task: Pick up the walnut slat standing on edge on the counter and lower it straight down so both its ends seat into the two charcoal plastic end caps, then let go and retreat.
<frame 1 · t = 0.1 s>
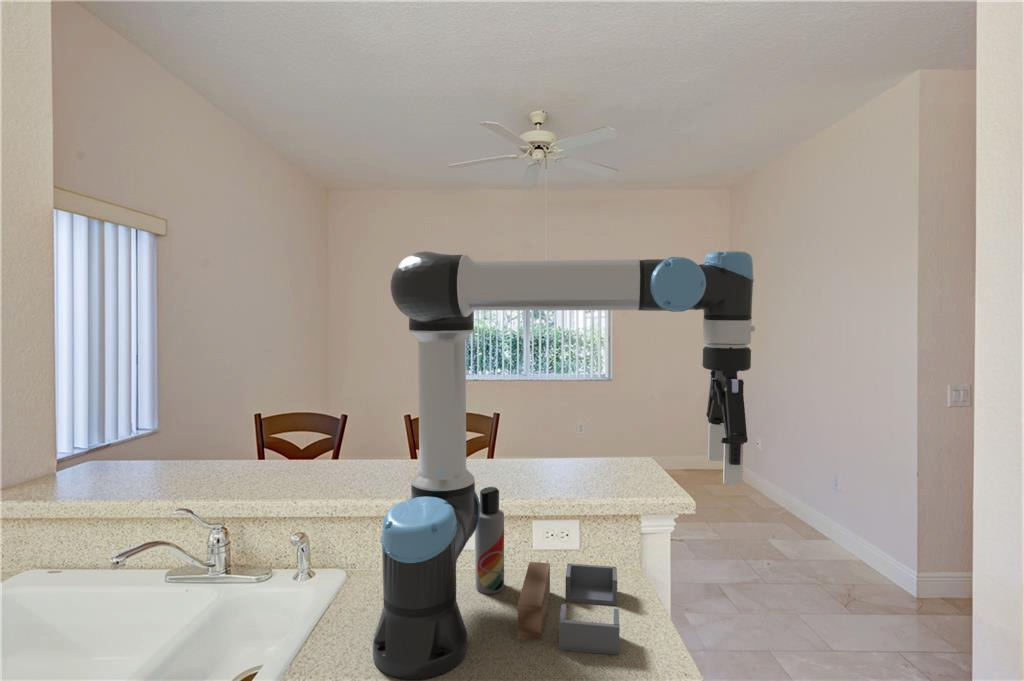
hand: (723, 471, 96), 28 cm above the countertop, fingers open, 13 cm apart
lotion bottle: (489, 588, 113), on the countertop
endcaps: (590, 617, 102), on the countertop
slat: (534, 614, 103), on the countertop
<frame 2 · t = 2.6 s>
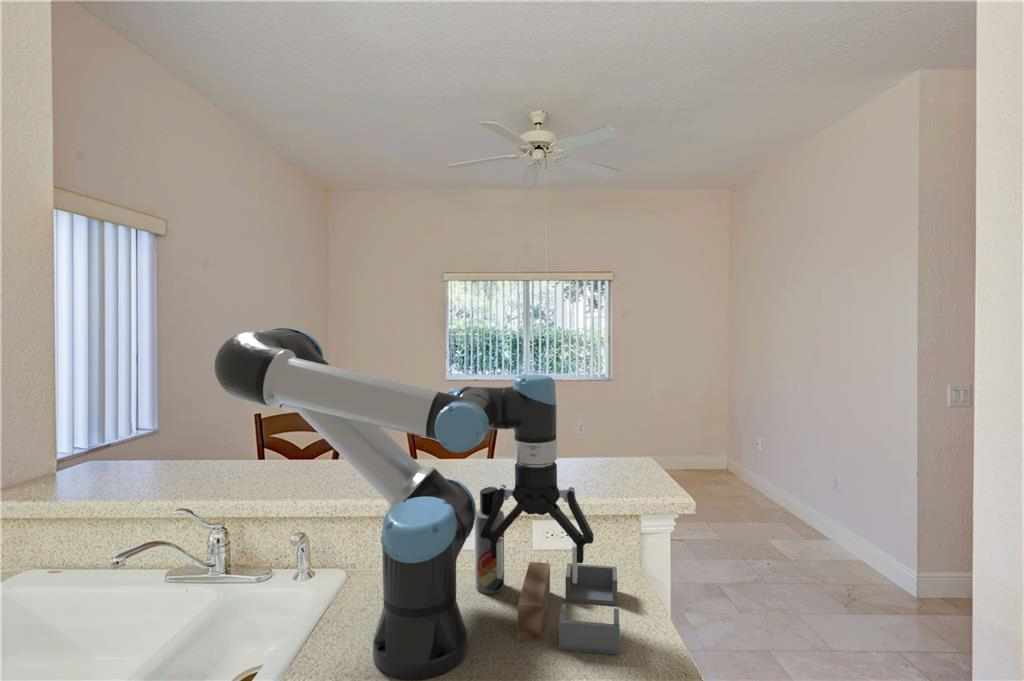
hand: (537, 577, 103), 7 cm above the countertop, fingers open, 13 cm apart
nothing on the countertop moved.
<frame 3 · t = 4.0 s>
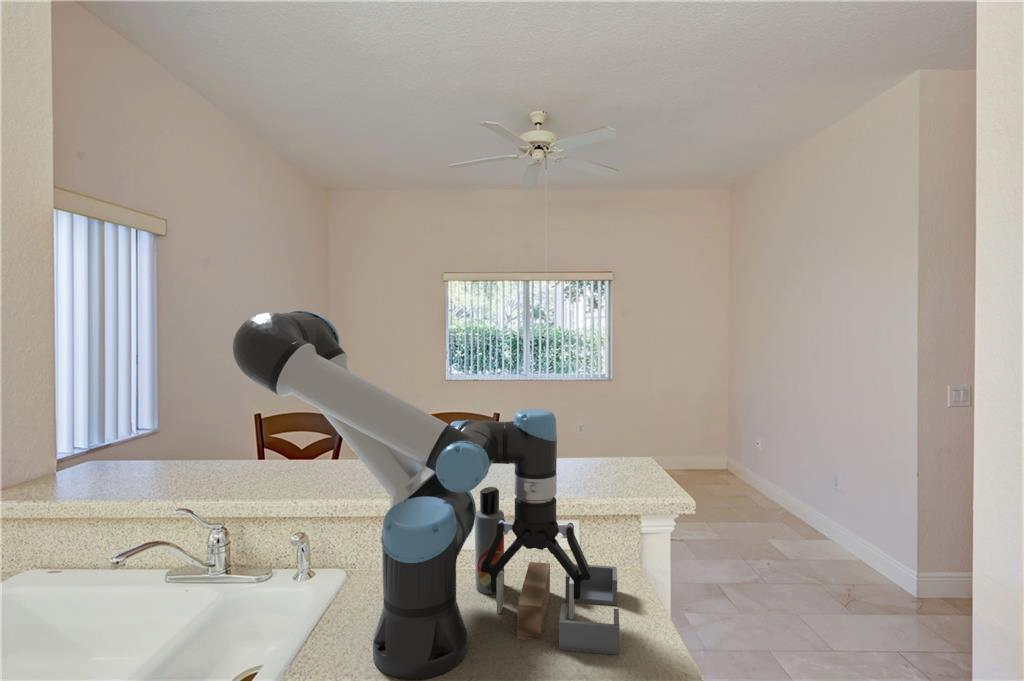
hand: (535, 612, 103), 0 cm above the countertop, fingers open, 12 cm apart
nothing on the countertop moved.
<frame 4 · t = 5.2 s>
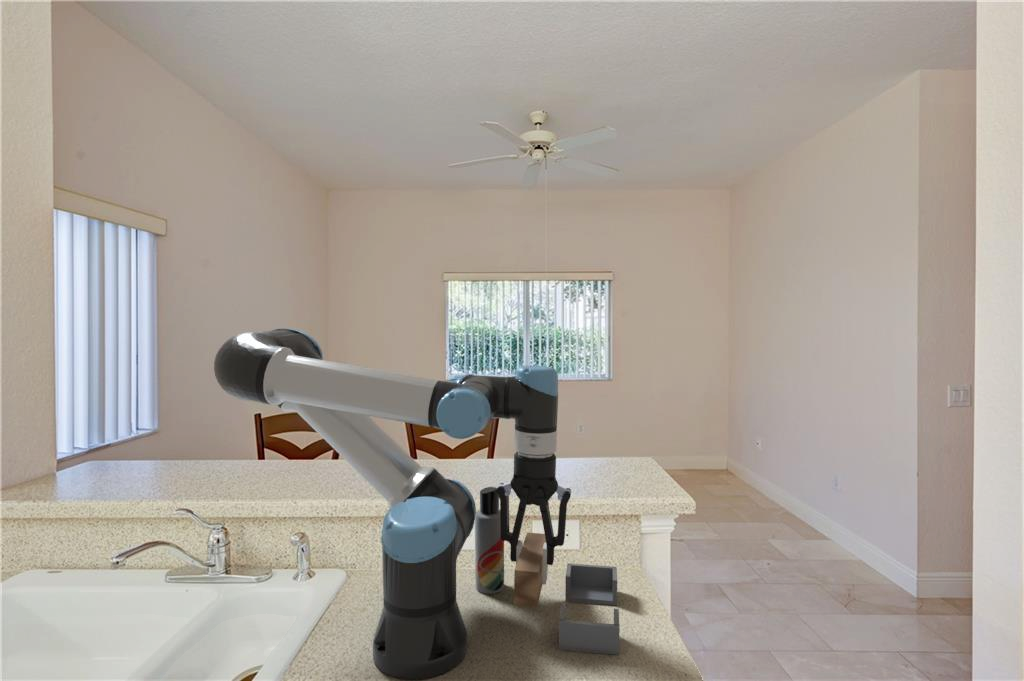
hand: (531, 579, 103), 6 cm above the countertop, fingers closed on slat, 4 cm apart
slat: (531, 582, 103), point 6 cm above the countertop, touching gripper
everything else where it was.
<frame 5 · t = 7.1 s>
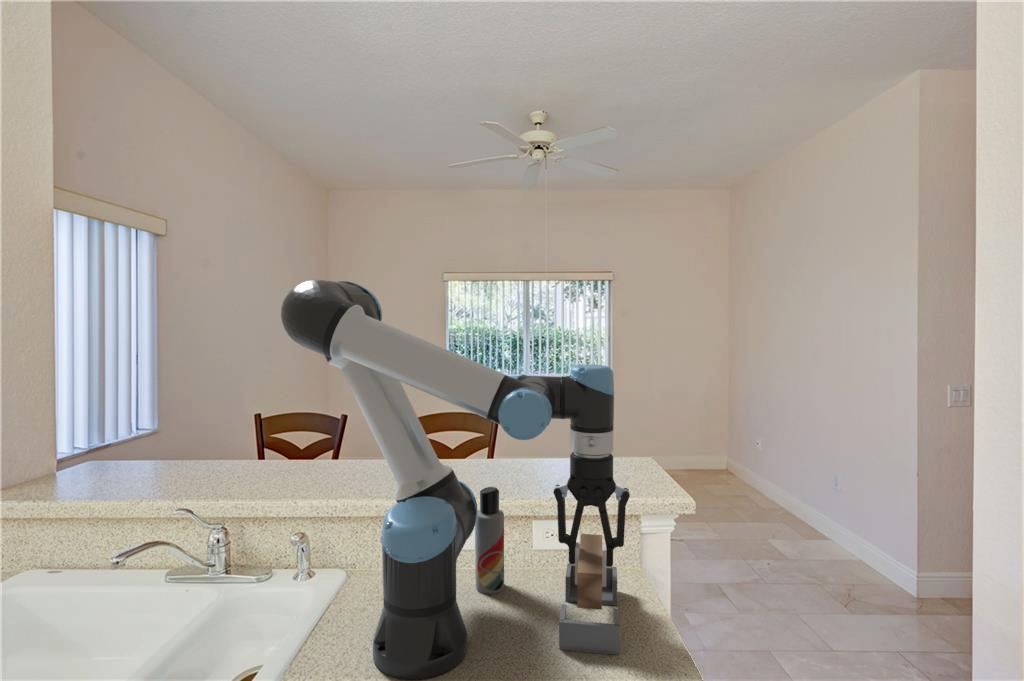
hand: (590, 581, 101), 7 cm above the countertop, fingers closed on slat, 4 cm apart
slat: (590, 585, 101), point 6 cm above the countertop, touching gripper
everything else where it was.
when the fingers open (2 cm above the countertop, at t = 9.1 s): slat stays where it is, resting on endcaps.
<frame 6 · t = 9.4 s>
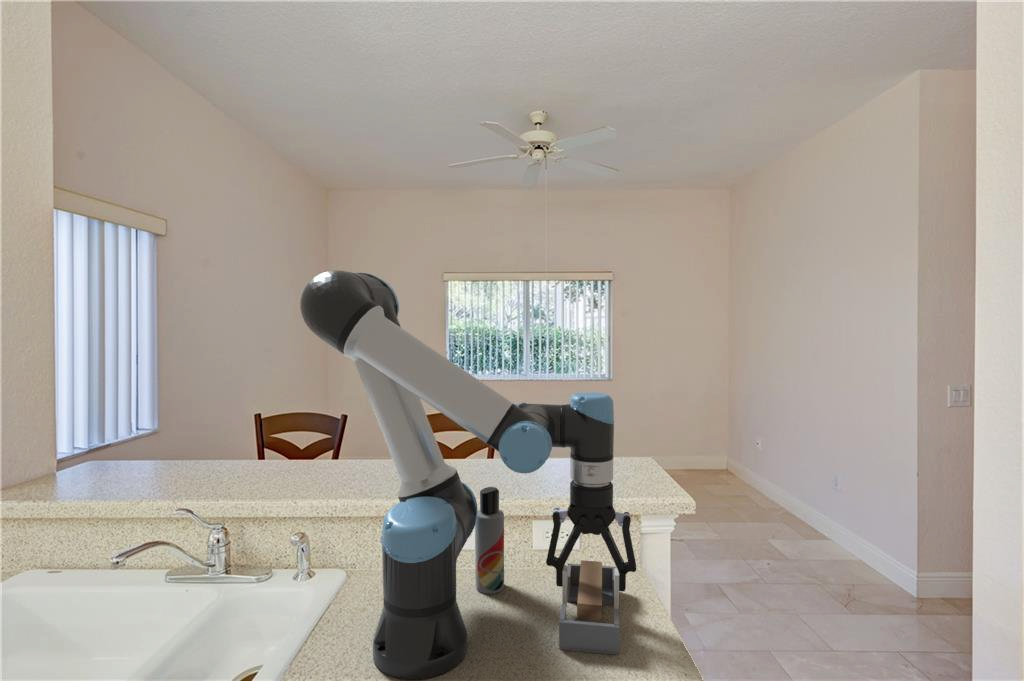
hand: (590, 605, 102), 2 cm above the countertop, fingers open, 8 cm apart
slat: (590, 613, 102), point 1 cm above the countertop, touching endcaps
everything else where it was.
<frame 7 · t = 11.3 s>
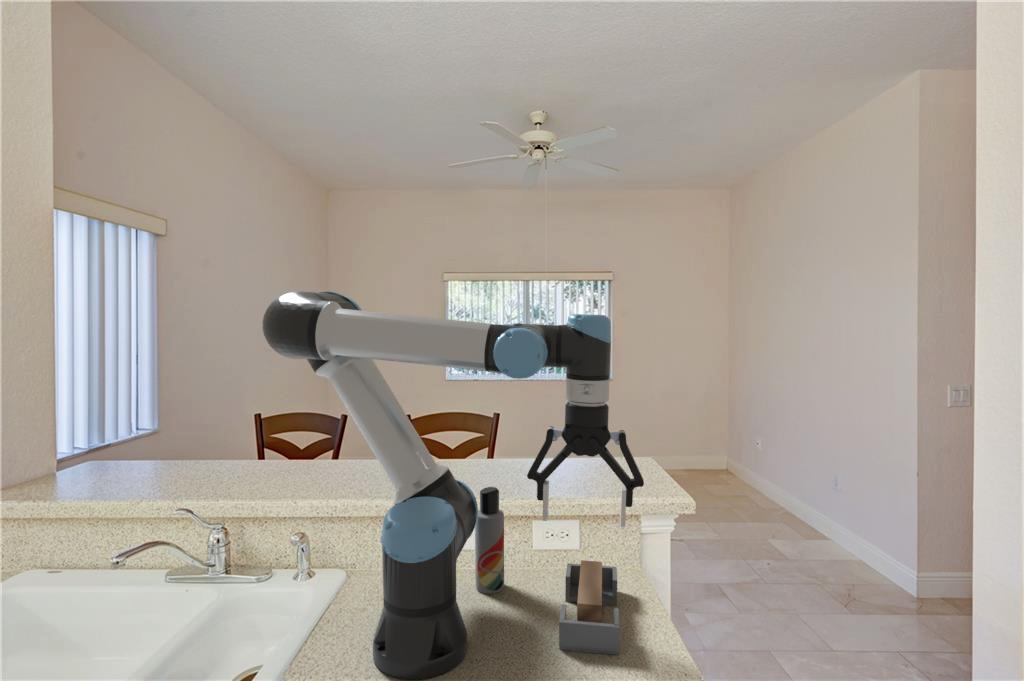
hand: (583, 521, 101), 18 cm above the countertop, fingers open, 13 cm apart
nothing on the countertop moved.
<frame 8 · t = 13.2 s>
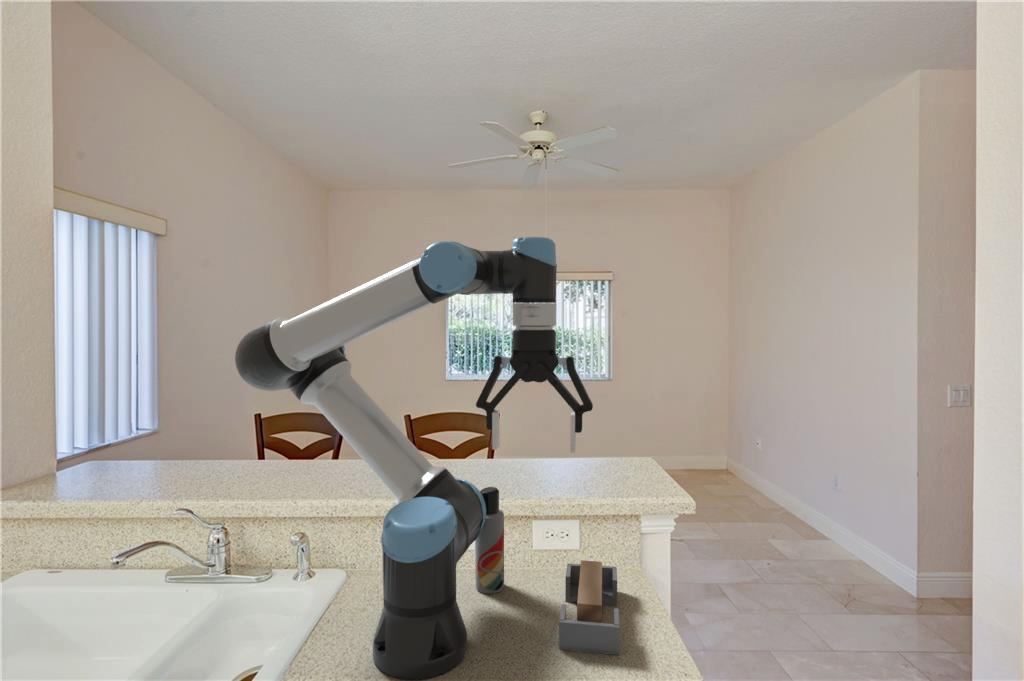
hand: (534, 449, 99), 31 cm above the countertop, fingers open, 13 cm apart
nothing on the countertop moved.
at the end: slat 0.0 cm off-centre on the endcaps, point 0.8 cm above the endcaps's base; slat tilted 0°; the gripper is holding nothing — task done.
